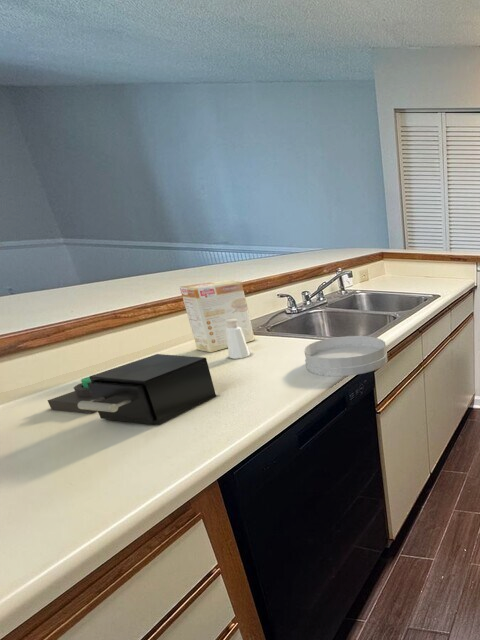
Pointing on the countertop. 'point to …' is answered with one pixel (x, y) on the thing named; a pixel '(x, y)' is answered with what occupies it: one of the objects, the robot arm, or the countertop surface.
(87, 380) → the button
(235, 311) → the coffeecake box
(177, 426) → the countertop surface
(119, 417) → the drawer
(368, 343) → the dish
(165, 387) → the cabinet
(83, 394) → the control block
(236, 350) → the salt shaker
